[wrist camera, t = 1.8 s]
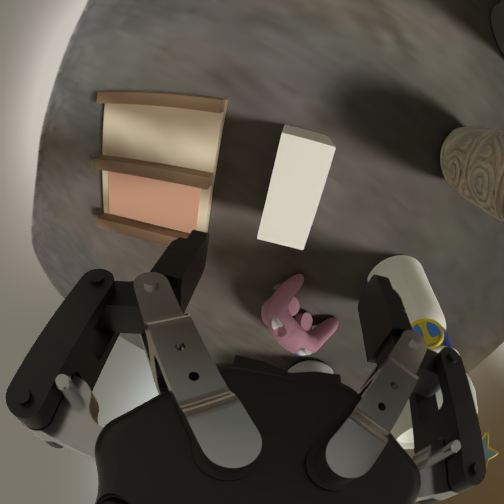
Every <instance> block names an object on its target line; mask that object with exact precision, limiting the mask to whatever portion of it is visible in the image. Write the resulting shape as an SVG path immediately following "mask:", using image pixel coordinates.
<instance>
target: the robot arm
mask: <svg viewBox="0 0 504 504" xmlns="http://www.w3.org/2000/svg"><path fill="white" fill-rule="evenodd" d="M491 24H492V29H493V33H494V36H495V38H496V41H497V43H498V45H499V47H500V49H501V51H502V53H503V54H504V0H501V2H500V3H498V4H496V5H495V6H494V7H493V9H492V12H491ZM208 240H209V233H206V232H202V231H198V230H192V232H191V233H190V234H189V236H188V237H187V239H186V238H182V237H179V238H177V239H176V240H174V241H172V242H171V243H170V245H169V246H168V247H167V249H166V250H165V252H164V253H163V255H162V256H161V257H160V259H159V260H158V261H157V263H156V264H155V266H154V267H153V268H152V270H151V271H150V272H147V273H143V274H141V275H139V276H137V277H136V279H135V280H134V281H132V282H125V281H114V277H113V275H112V273H110V272H109V271H107V270H104V269H94V270H91V271H89V272H87V273H85V274H84V275H83V276H82V278H81V279H80V280H79V282H78V283H77V284H76V285H75V287H74V288H73V289H72V291H71V292H70V293H69V295H68V296H67V297H66V299H65V300H64V302H63V303H62V304H61V305H60V307H59V308H58V309H57V311H56V312H55V314H54V315H53V317H52V318H51V319H50V321H49V322H48V324H47V325H46V327H45V328H44V330H43V331H42V332H41V334H40V335H39V337H38V339H37V340H36V342H35V343H34V345H33V347H32V348H31V349H30V351H29V353H28V354H27V356H26V357H25V359H24V361H23V363H22V364H21V366H20V367H19V369H18V371H17V373H16V374H15V376H14V378H13V380H12V382H11V383H10V385H9V387H8V389H7V392H6V403H7V406H8V408H9V409H10V411H11V412H12V413H13V414H14V415H15V416H16V417H17V418H18V419H19V420H20V421H21V422H22V423H23V425H24V426H25V427H27V428H28V429H29V430H30V431H31V432H33V433H34V434H35V435H36V436H37V437H39V438H40V439H42V440H44V441H45V442H46V443H48V444H49V445H51V446H52V447H55V448H63V447H65V448H67V449H69V450H71V451H73V452H75V453H77V454H79V455H81V456H84V457H86V458H88V459H90V460H93V461H95V462H96V465H97V470H98V481H99V485H98V486H99V487H98V495H97V499H96V502H95V504H415V502H416V501H418V502H419V503H421V504H432V503H435V502H438V501H440V500H443V499H446V498H448V497H451V496H453V495H456V494H458V493H460V492H462V491H465V490H467V489H469V488H472V487H474V486H476V485H478V484H480V483H481V482H482V481H483V479H484V477H485V474H486V462H485V455H484V448H483V442H482V436H481V431H480V426H479V422H478V417H477V412H476V408H475V404H474V400H473V396H472V392H471V389H470V385H469V382H468V378H467V375H466V372H465V369H464V365H463V362H462V359H461V357H460V355H459V354H458V353H457V352H456V351H455V350H454V349H452V348H450V347H444V348H442V350H441V351H440V352H439V353H437V352H435V351H432V350H430V349H428V348H427V343H426V341H425V339H424V338H423V337H422V336H421V335H420V334H419V333H417V332H415V331H413V330H412V327H411V324H410V321H409V318H408V316H407V313H406V312H405V311H406V310H405V307H404V306H403V302H402V299H401V297H400V296H399V294H398V293H397V292H396V291H395V289H393V288H392V285H391V283H390V280H389V278H387V277H383V276H379V275H376V274H374V275H373V276H372V277H371V279H370V281H369V283H368V284H367V286H366V288H365V290H364V292H363V294H362V296H361V298H360V300H359V303H358V312H359V317H360V323H361V328H362V333H363V339H364V345H365V350H366V357H367V362H372V363H377V366H376V368H375V369H374V370H373V371H372V373H371V374H370V376H369V377H368V378H367V380H366V381H365V382H364V384H363V385H362V386H361V388H360V389H359V390H358V392H356V391H354V390H353V389H352V388H350V387H348V386H346V385H344V384H342V383H341V378H340V375H338V374H331V373H324V372H318V371H313V372H295V373H290V372H286V371H284V370H282V369H279V368H277V367H274V366H272V365H270V364H267V363H265V362H263V361H259V360H254V359H250V358H245V357H241V356H237V355H235V359H234V363H221V364H215V363H214V361H213V359H212V358H211V356H210V354H209V352H208V350H207V348H206V346H205V344H204V342H203V340H202V338H201V336H200V334H199V332H198V330H197V328H196V326H195V324H194V322H193V320H192V318H191V317H190V315H189V314H184V312H185V310H186V308H187V306H188V303H189V301H190V299H191V297H192V295H193V293H194V290H195V288H196V286H197V284H198V282H199V280H200V277H201V275H202V273H203V270H204V267H205V263H206V255H207V247H208ZM120 333H137V334H140V337H141V340H142V344H143V347H144V350H145V353H146V355H147V359H148V361H149V365H150V368H151V371H152V375H153V378H154V382H155V385H156V388H157V390H158V393H159V395H158V396H156V397H154V398H153V399H151V400H149V401H147V402H145V403H144V404H142V405H140V406H138V407H136V408H134V409H133V410H131V411H129V412H127V413H125V414H123V415H121V416H120V417H117V418H116V419H114V420H112V421H111V422H109V423H108V424H107V425H106V426H105V427H104V428H103V427H101V426H99V425H98V413H99V405H98V402H97V400H96V398H95V396H94V395H93V393H92V391H93V388H94V386H95V384H96V382H97V380H98V377H99V375H100V373H101V371H102V369H103V367H104V364H105V362H106V360H107V358H108V356H109V354H110V352H111V350H112V348H113V346H114V344H115V342H116V340H117V338H118V336H119V334H120ZM440 388H441V392H442V396H443V403H442V406H441V408H440V409H439V410H438V404H437V399H436V394H435V393H436V392H437V391H438V390H439V389H440ZM408 399H409V402H410V409H411V418H412V427H413V438H414V451H415V455H414V457H413V459H411V458H410V457H409V455H408V454H407V453H406V451H405V450H404V449H403V448H402V446H401V445H400V444H399V443H398V441H397V440H396V439H395V438H394V437H393V435H392V434H391V433H390V432H391V430H392V428H393V427H394V425H395V423H396V421H397V420H398V418H399V416H400V414H401V412H402V411H403V409H404V407H405V405H406V403H407V401H408Z"/></svg>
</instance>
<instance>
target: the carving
mask: <svg viewBox="0 0 504 504" xmlns="http://www.w3.org/2000/svg"><path fill="white" fill-rule="evenodd" d="M440 163H441V169H442V173H443V175H444V177H445V180H446V182H447V183H448V184H449V185H450V186H451V187H452V188H454V190H455V191H456V192H458V193H459V194H460V195H461V196H462V197H463V198H465V199H466V200H468V201H469V202H471V203H473V204H475V205H476V206H477V207H479V208H481V209H482V210H483V211H484V212H486V213H487V214H489V215H491V216H493V217H495V218H496V219H498V220H500V221H502V222H504V132H502V131H499V130H494V129H490V128H486V127H480V126H471V127H459V128H456V129H455V130H453V131H452V132H451V133H450V134H449V135H448V137H447V138H446V140H445V141H444V143H443V146H442V148H441V151H440Z"/></svg>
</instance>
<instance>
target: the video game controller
mask: <svg viewBox="0 0 504 504" xmlns="http://www.w3.org/2000/svg"><path fill="white" fill-rule="evenodd" d="M303 283H304V276H303V275H302V274H296V275H293V276H292V277H290V278H289V279H287V280H286V281H285V282H284V283H282V284H281V285H280V286H279V288H278V289H277V290H276V291H275V293H274V294H273V295H272V296H271V298H270V299H268V300H266V301H265V302H264V304H263V305H262V308H261V317H262V320H263V322H264V324H265V325H266V326H268V328H269V330H270V332H271V334H272V335H273V337H274V338H275V340H276V341H277V342H278V343H279V344H280V345H281V346H282V347H283V348H285V349H286V350H288V351H289V352H291V353H294V354H295V355H298V356H305V355H310V354H312V353H314V352H316V351H317V350H318V349H319V348H320V347H321V346H322V345H323V344H324V342H325V341H326V340H327V339H328V338H329V337H330V336H331V335H332V334H333V333H334V332H335V331H336V329H337V327H338V319H337V318H335V317H332V318H328V319H326V320H325V321H323V322H321V323H320V324H319V325H318V326H316V327H315V328H314V329H313V330H312V322H313V320H312V316H311V315H310V314H309V313H298V311H299V302H298V300H297V298H296V297H294V296H295V295H296V294H297V292H298V291H299V290H300V289H301V287H302V285H303ZM297 313H298V314H297ZM296 314H297V315H296ZM294 315H296V317H295V319H294V318H293V317H292V316H294Z"/></svg>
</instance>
